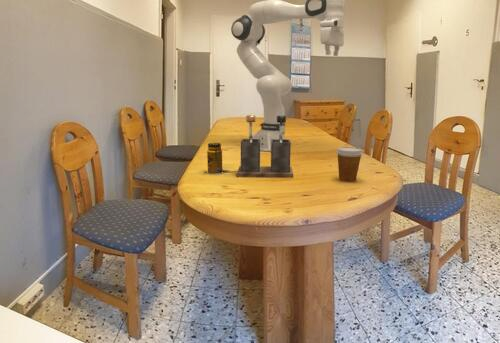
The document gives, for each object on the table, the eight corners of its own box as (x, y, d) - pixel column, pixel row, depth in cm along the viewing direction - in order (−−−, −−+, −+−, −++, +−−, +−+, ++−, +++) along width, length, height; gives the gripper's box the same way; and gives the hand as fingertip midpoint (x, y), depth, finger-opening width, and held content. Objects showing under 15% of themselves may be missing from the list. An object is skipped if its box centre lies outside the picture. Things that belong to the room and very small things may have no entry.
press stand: (237, 176, 146) (237, 143, 143) (239, 169, 158) (239, 137, 155) (293, 177, 145) (294, 143, 142) (291, 170, 157) (292, 138, 154)
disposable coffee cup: (340, 175, 150) (342, 145, 147) (363, 178, 144) (366, 148, 141) (330, 180, 142) (332, 149, 139) (355, 184, 137) (357, 152, 134)
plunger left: (243, 147, 147) (243, 116, 144) (244, 145, 152) (244, 114, 149) (257, 147, 146) (257, 116, 143) (257, 145, 152) (257, 115, 149)
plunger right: (273, 148, 146) (274, 116, 143) (273, 145, 151) (274, 115, 148) (287, 148, 146) (288, 116, 143) (287, 145, 151) (287, 115, 148)
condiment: (203, 172, 153) (202, 143, 150) (217, 168, 160) (217, 141, 157) (215, 175, 149) (215, 145, 146) (230, 171, 155) (230, 143, 152)
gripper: (335, 27, 181) (333, 56, 185) (318, 22, 165) (316, 54, 168) (348, 26, 178) (346, 56, 181) (331, 21, 162) (330, 54, 165)
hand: (331, 55), depth 175 cm, fingers open, 8 cm apart
